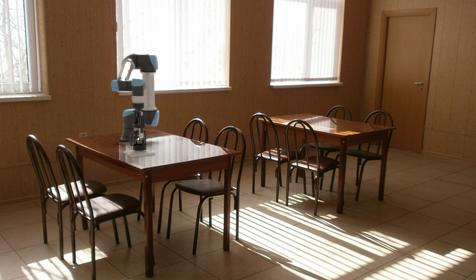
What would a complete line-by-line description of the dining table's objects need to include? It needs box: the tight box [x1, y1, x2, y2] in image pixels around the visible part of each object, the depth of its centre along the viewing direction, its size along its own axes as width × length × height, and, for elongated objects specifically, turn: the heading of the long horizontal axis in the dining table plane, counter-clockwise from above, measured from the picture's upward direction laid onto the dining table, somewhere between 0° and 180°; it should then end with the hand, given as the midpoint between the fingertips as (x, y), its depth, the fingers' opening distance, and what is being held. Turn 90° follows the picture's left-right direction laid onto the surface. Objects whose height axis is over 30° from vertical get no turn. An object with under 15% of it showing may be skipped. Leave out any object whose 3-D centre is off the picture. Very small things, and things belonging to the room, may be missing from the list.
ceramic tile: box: [123, 148, 156, 158], centre depth 306 cm, size 14×16×2 cm
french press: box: [129, 115, 148, 151], centre depth 303 cm, size 12×9×23 cm
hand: (138, 136), depth 304 cm, fingers closed on french press, 9 cm apart
